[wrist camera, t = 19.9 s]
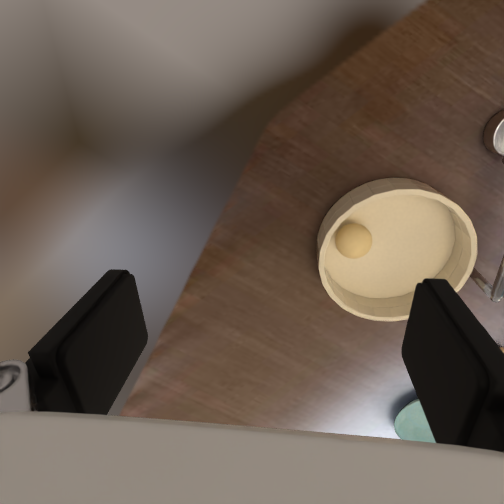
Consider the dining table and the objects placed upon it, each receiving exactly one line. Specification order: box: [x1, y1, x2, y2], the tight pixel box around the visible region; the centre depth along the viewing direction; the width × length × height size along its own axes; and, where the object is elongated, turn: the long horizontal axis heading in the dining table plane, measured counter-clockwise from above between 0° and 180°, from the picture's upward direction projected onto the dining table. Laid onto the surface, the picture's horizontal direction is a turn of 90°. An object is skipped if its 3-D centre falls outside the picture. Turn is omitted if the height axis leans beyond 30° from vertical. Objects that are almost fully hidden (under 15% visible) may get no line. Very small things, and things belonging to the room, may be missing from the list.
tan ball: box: [335, 223, 372, 259], centre depth 37 cm, size 4×4×4 cm
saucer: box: [394, 399, 436, 443], centre depth 51 cm, size 12×12×2 cm
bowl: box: [316, 178, 477, 321], centre depth 38 cm, size 16×16×4 cm
